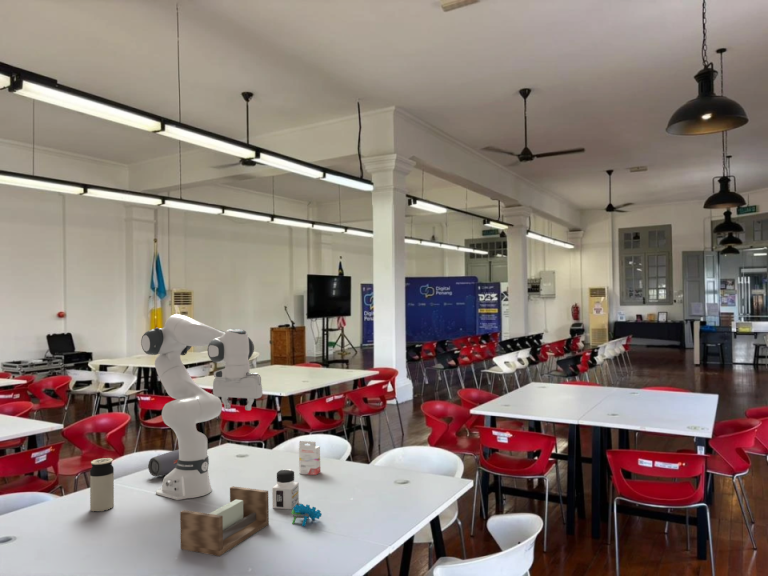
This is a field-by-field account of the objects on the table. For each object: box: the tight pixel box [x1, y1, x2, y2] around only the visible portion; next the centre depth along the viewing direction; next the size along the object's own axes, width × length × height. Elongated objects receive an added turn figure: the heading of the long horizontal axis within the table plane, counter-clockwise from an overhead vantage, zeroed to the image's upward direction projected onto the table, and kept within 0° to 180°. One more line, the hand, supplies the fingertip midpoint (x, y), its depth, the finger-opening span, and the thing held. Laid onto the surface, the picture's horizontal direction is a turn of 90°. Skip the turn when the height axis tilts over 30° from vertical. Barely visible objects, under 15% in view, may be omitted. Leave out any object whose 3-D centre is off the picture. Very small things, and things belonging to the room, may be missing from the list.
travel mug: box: [89, 457, 115, 512], centre depth 212 cm, size 8×8×18 cm
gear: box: [291, 503, 322, 527], centre depth 192 cm, size 11×6×10 cm
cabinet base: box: [179, 486, 270, 557], centre depth 183 cm, size 15×26×12 cm, turn 158°
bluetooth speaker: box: [147, 449, 179, 477], centre depth 257 cm, size 23×9×10 cm, turn 148°
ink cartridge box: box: [298, 440, 321, 476], centre depth 251 cm, size 9×5×15 cm, turn 73°
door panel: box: [208, 499, 243, 530], centre depth 183 cm, size 3×14×8 cm, turn 158°
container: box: [271, 468, 300, 510], centre depth 211 cm, size 8×8×13 cm
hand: (237, 409), depth 208 cm, fingers open, 8 cm apart
